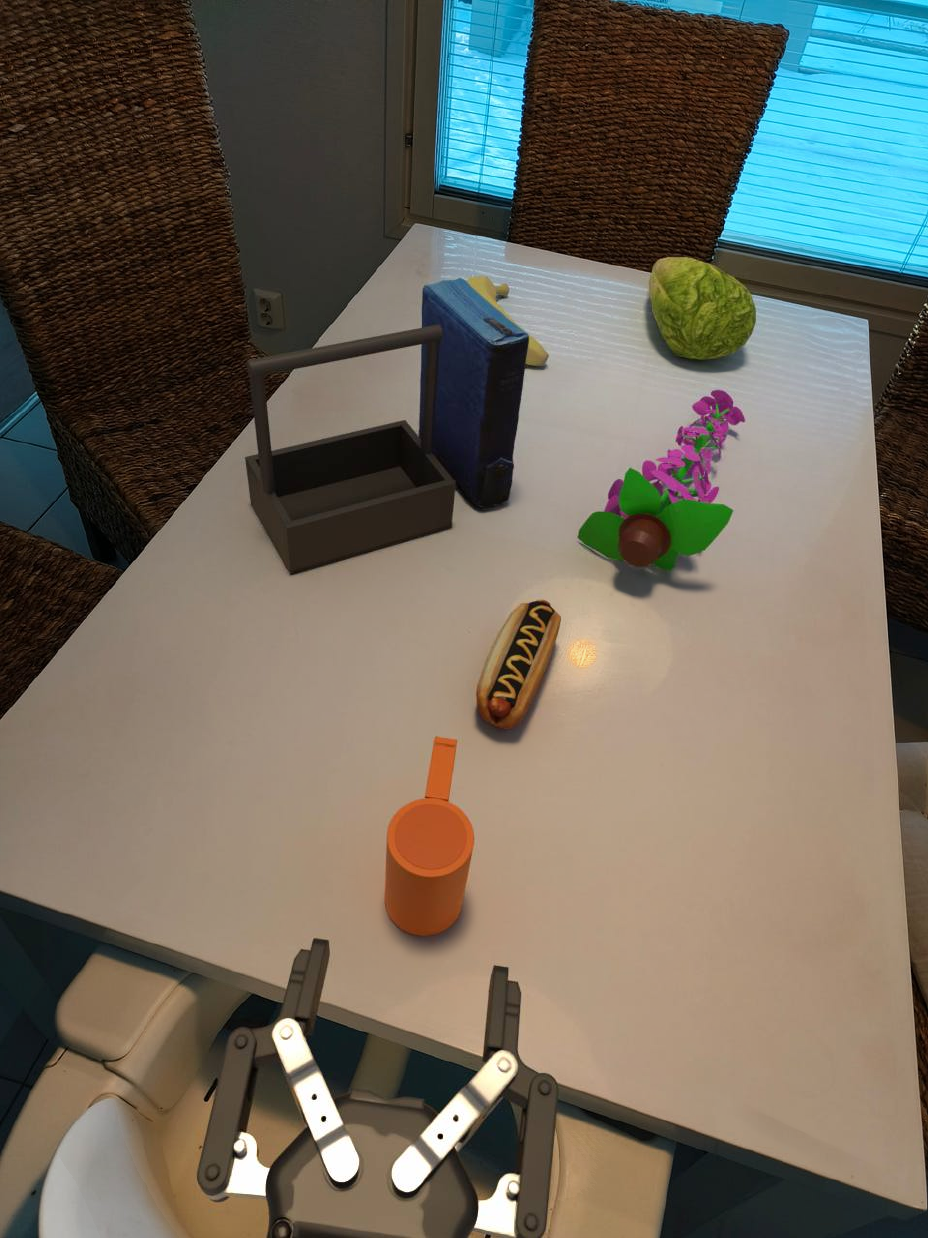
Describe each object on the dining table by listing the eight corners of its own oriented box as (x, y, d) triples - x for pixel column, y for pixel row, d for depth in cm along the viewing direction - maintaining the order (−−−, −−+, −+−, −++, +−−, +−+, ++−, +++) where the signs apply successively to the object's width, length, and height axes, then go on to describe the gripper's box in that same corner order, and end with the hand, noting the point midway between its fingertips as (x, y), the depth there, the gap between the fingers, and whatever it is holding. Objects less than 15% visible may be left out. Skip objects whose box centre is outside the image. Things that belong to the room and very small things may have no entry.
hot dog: (460, 729, 71) (466, 692, 68) (509, 622, 80) (516, 585, 76) (517, 749, 70) (525, 712, 67) (560, 639, 79) (569, 602, 75)
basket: (288, 575, 82) (272, 398, 67) (248, 504, 88) (226, 328, 74) (453, 527, 89) (470, 356, 74) (404, 464, 95) (411, 296, 81)
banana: (456, 301, 107) (475, 254, 122) (442, 341, 110) (462, 290, 126) (555, 344, 109) (562, 292, 124) (538, 382, 112) (546, 327, 127)
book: (516, 504, 92) (544, 333, 77) (474, 518, 90) (495, 345, 75) (450, 433, 100) (464, 266, 85) (410, 444, 98) (418, 274, 83)
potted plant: (574, 609, 87) (664, 457, 112) (737, 600, 78) (795, 437, 103) (537, 503, 82) (640, 367, 106) (708, 481, 72) (777, 338, 97)
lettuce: (719, 256, 128) (666, 202, 121) (785, 329, 111) (727, 270, 104) (659, 318, 134) (606, 269, 127) (713, 396, 116) (654, 344, 110)
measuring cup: (457, 941, 59) (469, 882, 52) (378, 930, 59) (379, 869, 52) (473, 809, 66) (485, 743, 60) (402, 799, 66) (406, 731, 60)
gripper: (558, 1460, 26) (572, 948, 38) (109, 1389, 27) (255, 901, 38) (526, 1453, 32) (546, 1007, 43) (153, 1394, 32) (269, 966, 43)
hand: (410, 958), depth 40 cm, fingers open, 8 cm apart
